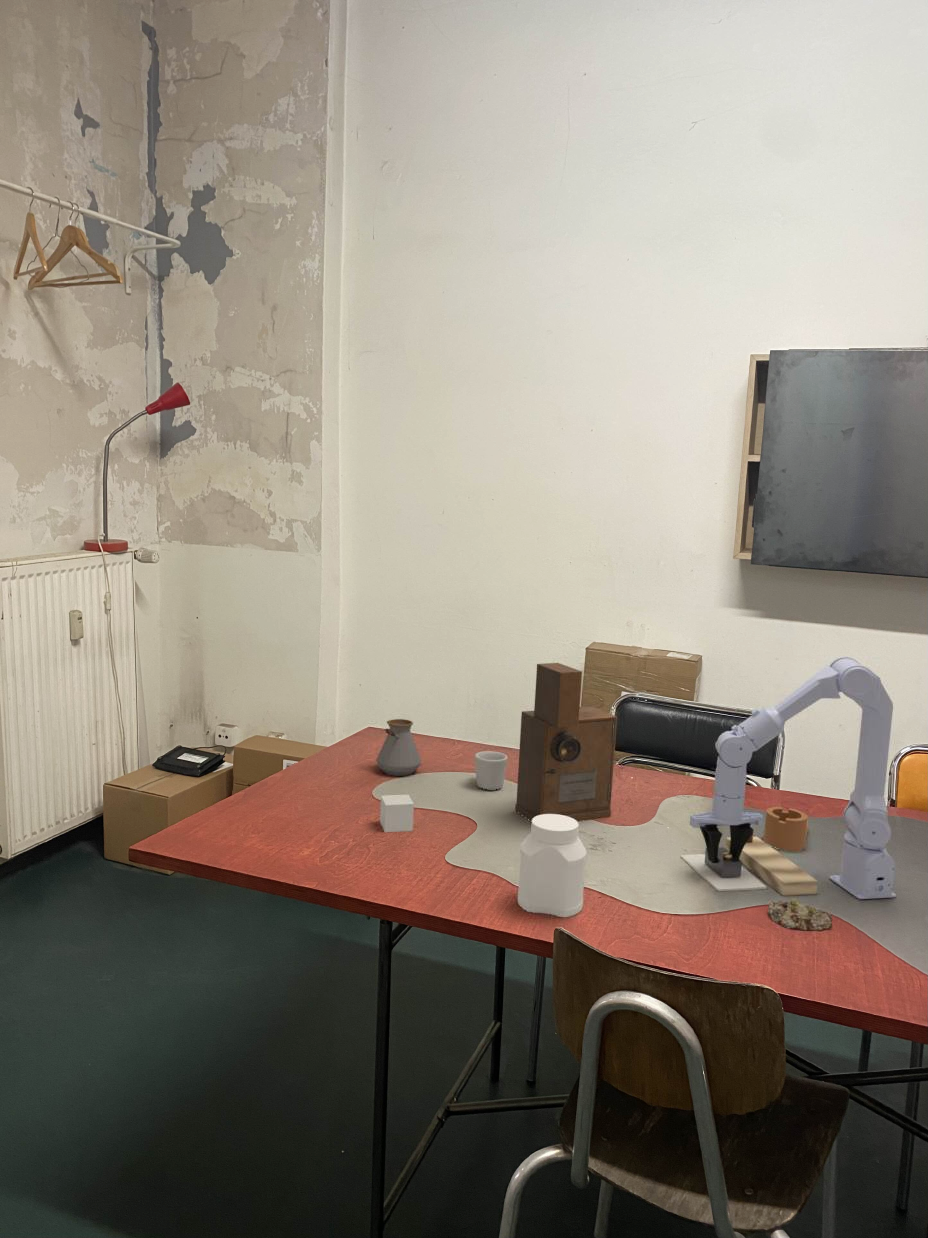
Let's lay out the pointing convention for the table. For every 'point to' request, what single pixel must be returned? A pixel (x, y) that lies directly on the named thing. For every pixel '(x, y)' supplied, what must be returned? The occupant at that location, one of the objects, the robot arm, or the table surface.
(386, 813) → the white cube
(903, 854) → the table surface
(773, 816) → the bracket
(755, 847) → the body
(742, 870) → the mat
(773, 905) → the mineral rock
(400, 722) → the coffee pot
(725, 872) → the lever cap
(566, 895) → the jar
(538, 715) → the vintage camera
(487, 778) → the cup
